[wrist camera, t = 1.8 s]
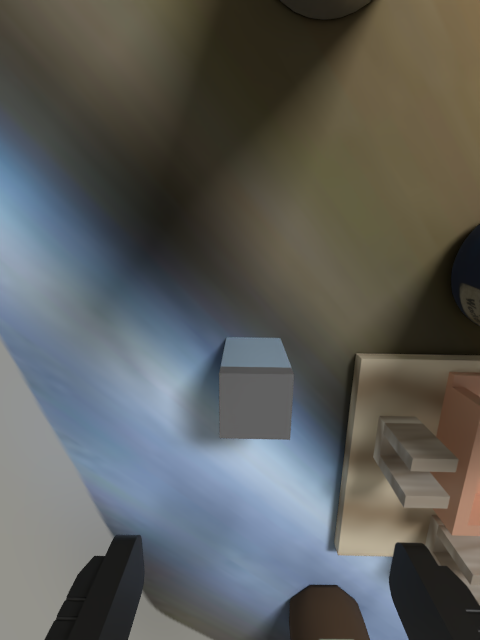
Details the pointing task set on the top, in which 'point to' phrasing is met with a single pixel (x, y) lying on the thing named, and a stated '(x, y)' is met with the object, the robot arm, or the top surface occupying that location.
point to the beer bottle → (325, 615)
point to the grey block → (255, 389)
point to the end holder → (461, 453)
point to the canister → (468, 277)
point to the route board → (401, 462)
